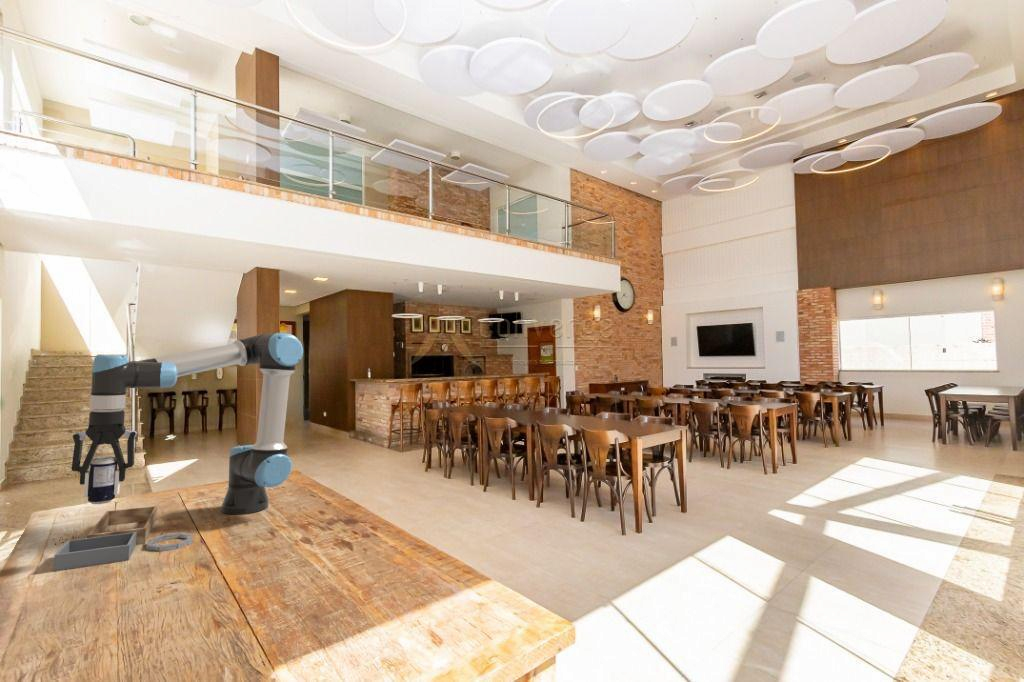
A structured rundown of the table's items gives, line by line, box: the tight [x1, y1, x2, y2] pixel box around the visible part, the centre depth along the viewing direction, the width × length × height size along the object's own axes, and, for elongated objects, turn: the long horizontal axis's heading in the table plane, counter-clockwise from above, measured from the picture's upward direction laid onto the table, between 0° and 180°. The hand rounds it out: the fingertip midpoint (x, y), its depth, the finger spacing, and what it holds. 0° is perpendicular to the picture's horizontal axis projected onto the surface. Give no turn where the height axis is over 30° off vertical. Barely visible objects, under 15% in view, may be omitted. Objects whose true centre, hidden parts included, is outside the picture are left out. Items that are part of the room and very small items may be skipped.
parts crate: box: [86, 505, 158, 546], centre depth 148 cm, size 13×24×4 cm, turn 30°
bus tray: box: [53, 532, 137, 572], centre depth 131 cm, size 15×11×4 cm
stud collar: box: [145, 531, 194, 552], centre depth 142 cm, size 11×11×1 cm
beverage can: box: [87, 455, 118, 505], centre depth 132 cm, size 6×6×12 cm
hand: (101, 494), depth 132 cm, fingers closed on beverage can, 6 cm apart
